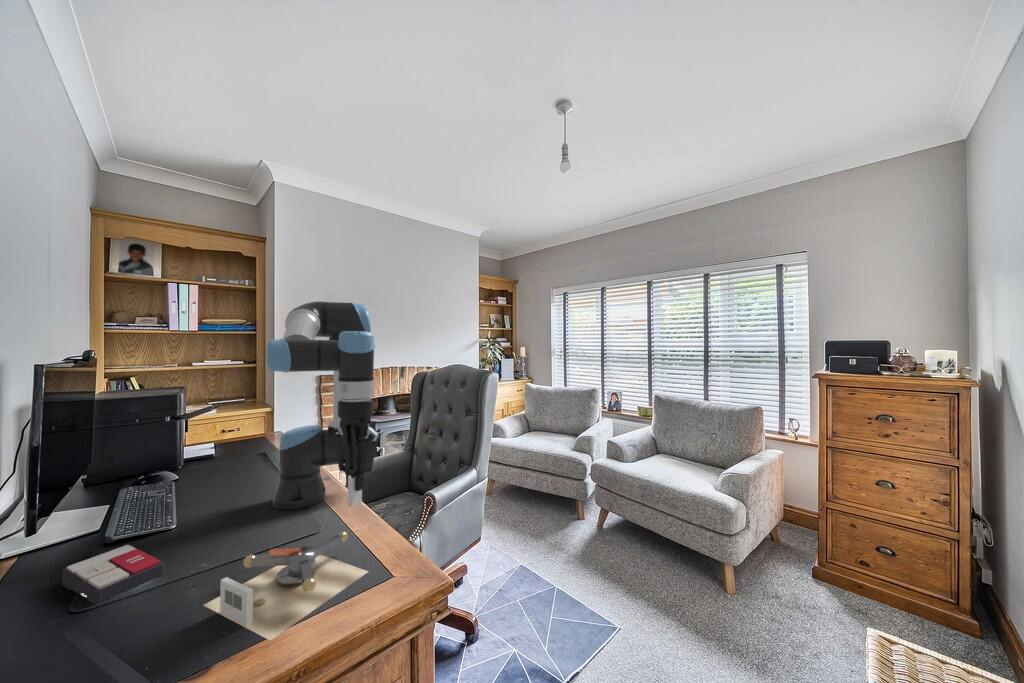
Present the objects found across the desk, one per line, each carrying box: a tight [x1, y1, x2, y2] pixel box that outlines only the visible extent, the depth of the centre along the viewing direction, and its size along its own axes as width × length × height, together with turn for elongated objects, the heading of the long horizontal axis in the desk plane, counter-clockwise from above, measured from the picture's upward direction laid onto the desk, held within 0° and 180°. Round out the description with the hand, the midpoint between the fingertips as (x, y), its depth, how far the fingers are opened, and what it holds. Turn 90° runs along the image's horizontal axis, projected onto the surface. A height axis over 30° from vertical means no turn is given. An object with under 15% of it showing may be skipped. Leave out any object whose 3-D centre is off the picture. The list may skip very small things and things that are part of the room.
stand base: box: [203, 554, 370, 642], centre depth 80 cm, size 22×20×2 cm
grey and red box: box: [61, 544, 164, 605], centre depth 84 cm, size 11×4×15 cm
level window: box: [219, 576, 253, 626], centre depth 71 cm, size 1×8×6 cm, turn 65°
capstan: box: [243, 531, 349, 592], centre depth 86 cm, size 18×21×6 cm
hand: (354, 503), depth 88 cm, fingers closed
